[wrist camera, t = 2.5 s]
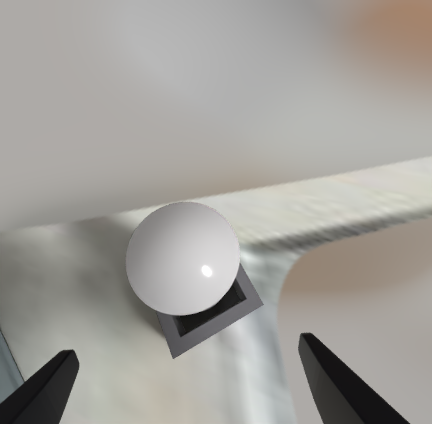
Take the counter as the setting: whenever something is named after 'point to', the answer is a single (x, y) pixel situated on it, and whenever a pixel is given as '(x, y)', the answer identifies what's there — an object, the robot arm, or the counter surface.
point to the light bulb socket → (186, 340)
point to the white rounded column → (182, 258)
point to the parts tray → (8, 372)
